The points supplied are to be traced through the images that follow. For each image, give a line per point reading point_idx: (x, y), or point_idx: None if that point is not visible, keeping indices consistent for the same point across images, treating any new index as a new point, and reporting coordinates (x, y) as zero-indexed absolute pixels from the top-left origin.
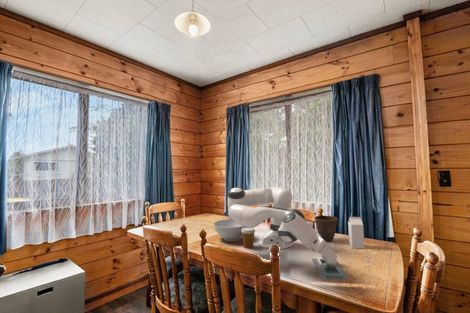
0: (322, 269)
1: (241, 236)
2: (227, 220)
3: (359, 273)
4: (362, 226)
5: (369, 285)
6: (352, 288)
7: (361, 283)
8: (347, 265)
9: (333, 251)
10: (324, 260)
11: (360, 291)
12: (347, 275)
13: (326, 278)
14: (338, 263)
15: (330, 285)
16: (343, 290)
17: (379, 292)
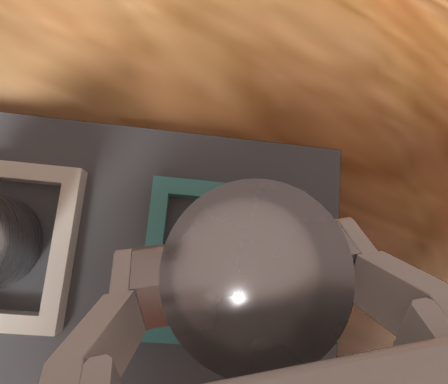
0: (167, 340)
1: None
2: None
3: (172, 24)
4: None
5: (354, 48)
6: (406, 178)
7: (330, 85)
8: (9, 45)
9: (203, 196)
10: (5, 276)
11: (439, 143)
12: (272, 143)
13: (335, 348)
14: (10, 119)
15: (380, 327)
16: (441, 252)
17: (435, 36)
